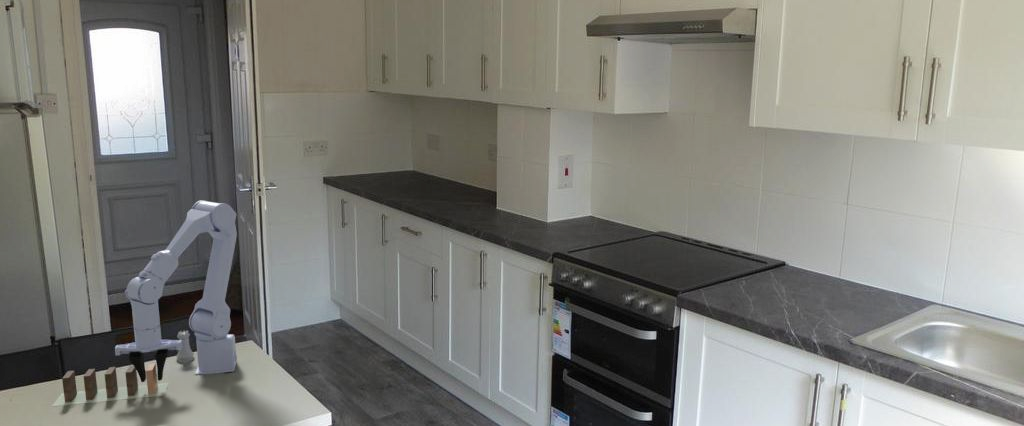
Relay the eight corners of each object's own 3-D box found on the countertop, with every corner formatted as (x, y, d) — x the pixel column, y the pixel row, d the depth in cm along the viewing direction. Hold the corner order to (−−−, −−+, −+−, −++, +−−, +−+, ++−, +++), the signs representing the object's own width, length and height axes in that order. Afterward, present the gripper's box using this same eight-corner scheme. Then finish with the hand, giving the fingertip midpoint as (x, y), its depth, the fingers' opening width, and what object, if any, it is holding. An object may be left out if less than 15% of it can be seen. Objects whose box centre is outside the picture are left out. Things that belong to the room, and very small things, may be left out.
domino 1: (77, 394, 183) (74, 370, 182) (71, 401, 178) (68, 377, 177) (70, 394, 182) (67, 371, 181) (64, 402, 178) (62, 378, 177)
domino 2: (97, 392, 184) (95, 368, 183) (92, 399, 180) (90, 375, 178) (91, 392, 183) (88, 369, 182) (86, 400, 179) (83, 376, 178)
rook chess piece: (197, 357, 207) (194, 329, 205) (190, 363, 202) (188, 334, 201) (180, 357, 207) (178, 329, 205) (173, 363, 202) (171, 335, 201)
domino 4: (138, 388, 186) (135, 365, 185) (134, 395, 182) (131, 372, 181) (131, 388, 186) (129, 365, 185) (127, 396, 181) (125, 372, 180)
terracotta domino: (157, 386, 187) (155, 363, 186) (154, 393, 183) (152, 370, 182) (151, 386, 187) (149, 363, 186) (148, 394, 183) (145, 370, 181)
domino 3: (117, 390, 185) (115, 366, 184) (113, 397, 181) (111, 373, 180) (111, 390, 185) (109, 367, 183) (107, 398, 180) (104, 374, 179)
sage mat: (169, 383, 189) (169, 382, 189) (163, 396, 182) (163, 395, 182) (62, 394, 183) (62, 392, 183) (51, 407, 176) (51, 406, 176)
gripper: (109, 334, 176) (115, 389, 179) (176, 329, 180) (181, 383, 182) (117, 324, 183) (122, 377, 185) (181, 319, 186) (186, 372, 189)
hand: (152, 379), depth 184 cm, fingers open, 3 cm apart
